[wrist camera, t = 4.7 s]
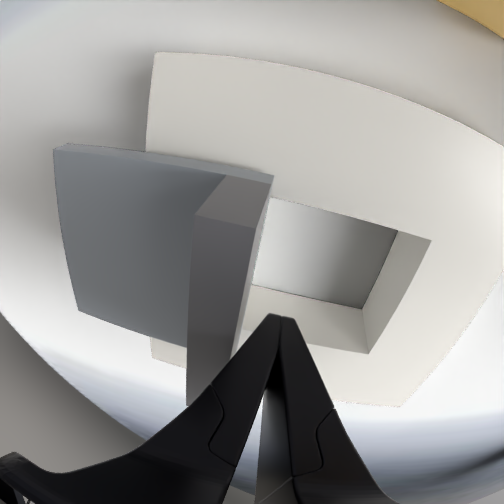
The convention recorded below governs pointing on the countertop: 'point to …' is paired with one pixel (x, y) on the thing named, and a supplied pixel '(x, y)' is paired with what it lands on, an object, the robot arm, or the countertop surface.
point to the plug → (482, 12)
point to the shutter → (163, 246)
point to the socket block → (349, 206)
